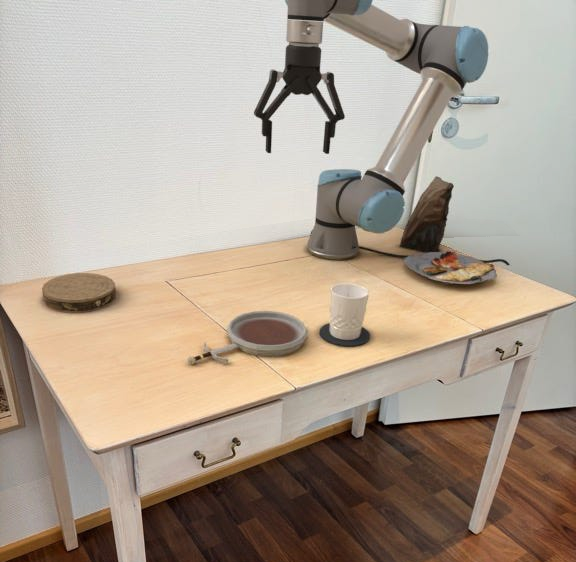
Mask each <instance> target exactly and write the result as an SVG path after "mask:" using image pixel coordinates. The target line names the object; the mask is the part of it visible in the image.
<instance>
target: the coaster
mask: <svg viewBox="0 0 576 562" xmlns="http://www.w3.org/2000/svg"><path fill="white" fill-rule="evenodd" d="M329 328H330V322H329V323H326V324H324V325H322V326H321V327H320V329H319V336H320V338H321V339H322V340H323V341H325V342H327V344H331V345H333V346H338V347H344V348H355V347H360V346H364V345H365V344H367V343H368V342H369V341H370V339H371V334H370V331H368V330H367V329H366V328H365V327H363V326H362V329H361V334H360V336H359V337H358V338H356V339H353V340H342V339H338V338H335V337H334V336H332V335H331V334H330V331H329Z"/></svg>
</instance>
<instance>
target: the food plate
mask: <svg viewBox="0 0 576 562" xmlns="http://www.w3.org/2000/svg"><path fill="white" fill-rule="evenodd" d="M455 251H456V250H455ZM455 251H449V250H447V251H445V252H443V251H439V252H429V253H428V252H426V253H425V252H419V253H416V254H412V255H413V256H408V257H406V258H403V263H404V264H405V266H406V267H407V268H408V269H410V270H411V271H413V272H415V273H417V274H419V275H421V276H423V277H425V278H427V279H431V280H434V281H435V282H440V283H443V284H444V285H449V284H452V285H453V284H460V285H472V284H477V283H484V282H488V281H491V280H494V279H497V277H498V273H497V270H496V269H495V264H493V263H484V262H482V261H481V260H482V259H478V258H475V257H472V256H468V255H465V254H459V253H456V252H455Z"/></svg>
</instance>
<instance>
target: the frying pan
mask: <svg viewBox="0 0 576 562" xmlns="http://www.w3.org/2000/svg"><path fill="white" fill-rule="evenodd" d="M226 332H227V335H228V337H229V338H230V341H231V343H230V344H228V345H225V346H221V347H218V348H216V349H213V350H209V349H208V348H207V343H206V341H204V342H203V347H202V348H203V352H204V353H201V354H198V355H196V356H193V355H189V356H188V358H187V363H188V364H190V365H194V364H195V363H196V362H198V361H200V360H204V359H206V358H209V357H211V358H213V359H214V360H215V361H218V362H222V363H226V364H227V363H229V358H227V357H222V356H218V355H219V354H221V353H225V352H227V351H231V350H233V349H237V350H240V351H242V352H244V353H246V354H250V355H253V356H262V357H279V356H281V357H282V356H284V355H289V354H292V353H294V352H296V351H298V350H299V349H300V348H301V347H302V346H303V345H304V342H305V340H306V339H307V338H308V329H307V327H306V325H305V323H304V322H303V321H301V320H300V318H298V317H296V316H294V315H291V314H289V313H285V312H281V311H276V310H275V311H274V310H254V311H249V312H244V313H242V314H239V315H237V316H234V318H233V319H232V320H231V321H229V323H228V325H227V328H226Z"/></svg>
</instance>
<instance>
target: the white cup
mask: <svg viewBox="0 0 576 562" xmlns="http://www.w3.org/2000/svg"><path fill="white" fill-rule="evenodd" d="M369 295H370V292H369V290H368V288H366V287H365V286H362V285H360V284H357V283H351V282H350V283H349V282H343V283H336V284H333V285H332V286H331V288H330V300H329V301H330V302H329V323H330V328H329V331H330V334H331V335H332V336H334V337H335V338H338V339H342V340H353V339H356V338H358V337H359V336H360V334H361V329H362V327H363V324H364V320H365V315H366V311H367V305H368V300H369Z"/></svg>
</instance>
